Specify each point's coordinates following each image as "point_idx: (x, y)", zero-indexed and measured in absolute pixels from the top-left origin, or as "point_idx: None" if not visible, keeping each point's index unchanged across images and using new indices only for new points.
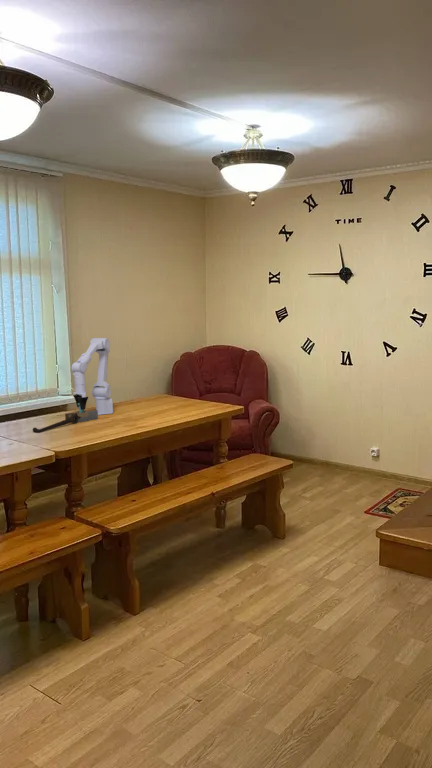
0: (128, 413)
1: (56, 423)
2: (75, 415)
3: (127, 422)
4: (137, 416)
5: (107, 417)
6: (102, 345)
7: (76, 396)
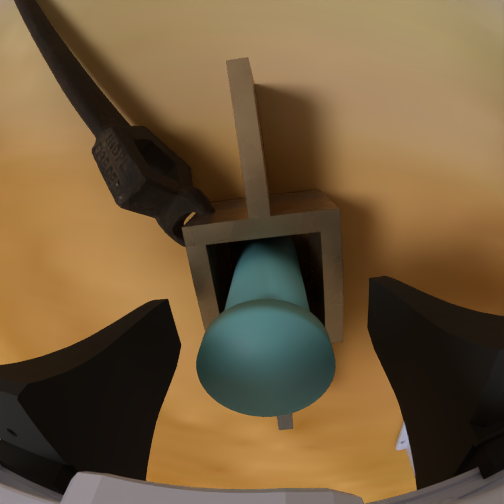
0: (342, 486)
1: (26, 25)
2: (114, 191)
3: None
4: None
5: (300, 423)
6: None
7: (466, 402)
